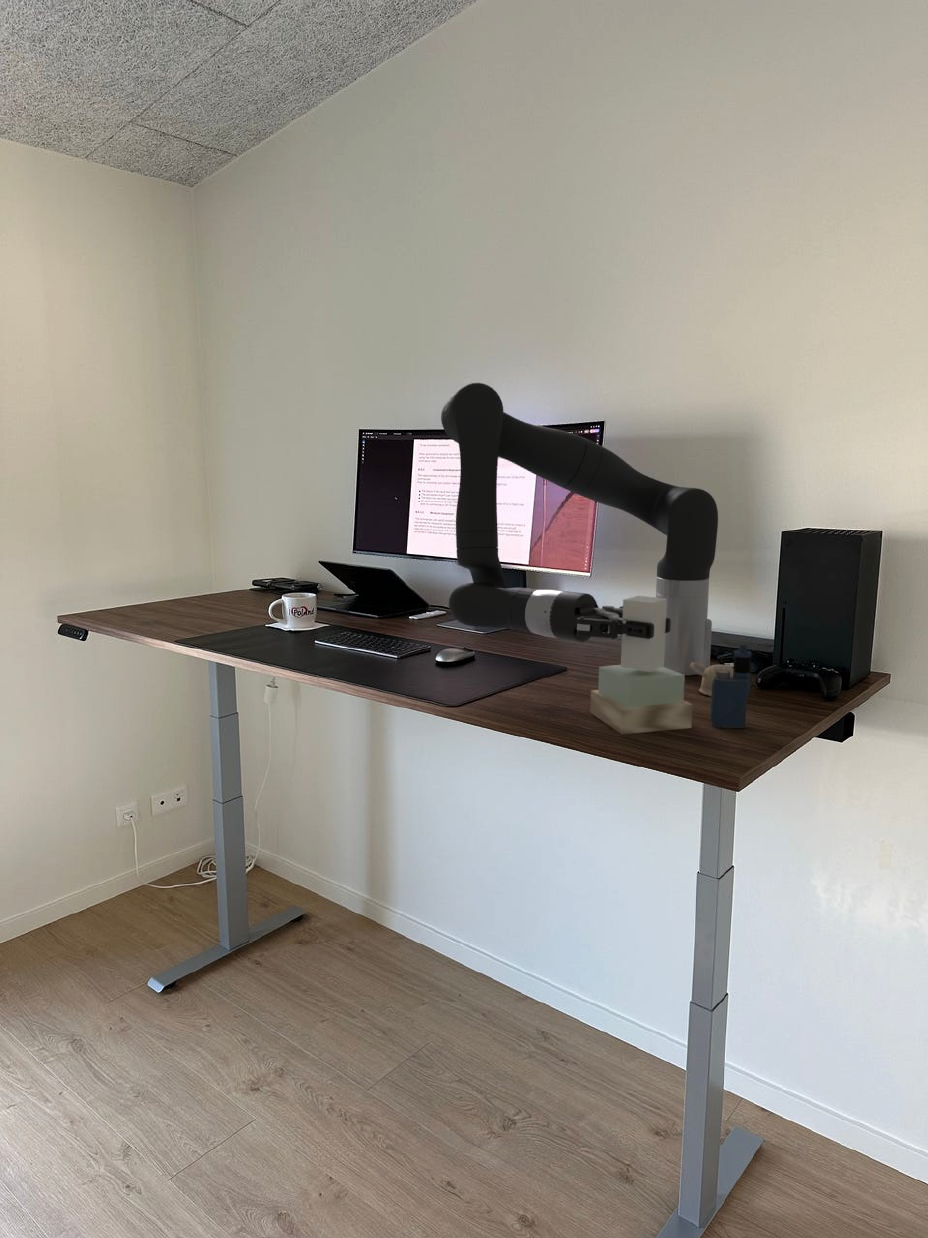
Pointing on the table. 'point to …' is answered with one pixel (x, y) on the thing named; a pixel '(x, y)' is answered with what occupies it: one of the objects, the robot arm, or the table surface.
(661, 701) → the top block
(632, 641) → the white block
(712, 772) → the table surface
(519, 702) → the table surface
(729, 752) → the table surface
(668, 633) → the robot arm
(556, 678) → the table surface
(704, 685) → the decorative ornament
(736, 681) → the vaping device
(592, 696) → the base block
